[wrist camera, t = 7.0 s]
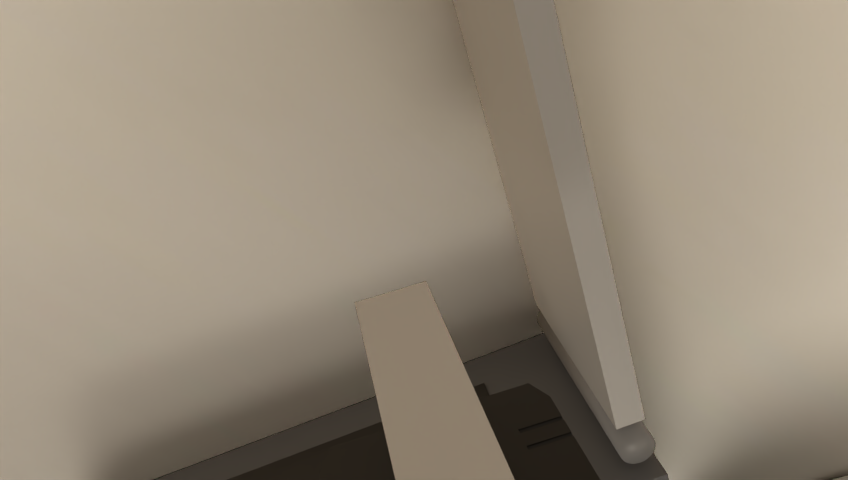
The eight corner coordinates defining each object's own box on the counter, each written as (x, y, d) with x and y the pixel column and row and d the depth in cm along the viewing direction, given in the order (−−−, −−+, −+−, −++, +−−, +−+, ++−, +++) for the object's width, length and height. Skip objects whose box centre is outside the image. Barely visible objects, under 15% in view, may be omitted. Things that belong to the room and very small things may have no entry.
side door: (580, 319, 27) (676, 449, 20) (540, 333, 27) (623, 468, 20) (474, -110, 21) (561, -119, 14) (422, -92, 21) (486, -94, 14)
